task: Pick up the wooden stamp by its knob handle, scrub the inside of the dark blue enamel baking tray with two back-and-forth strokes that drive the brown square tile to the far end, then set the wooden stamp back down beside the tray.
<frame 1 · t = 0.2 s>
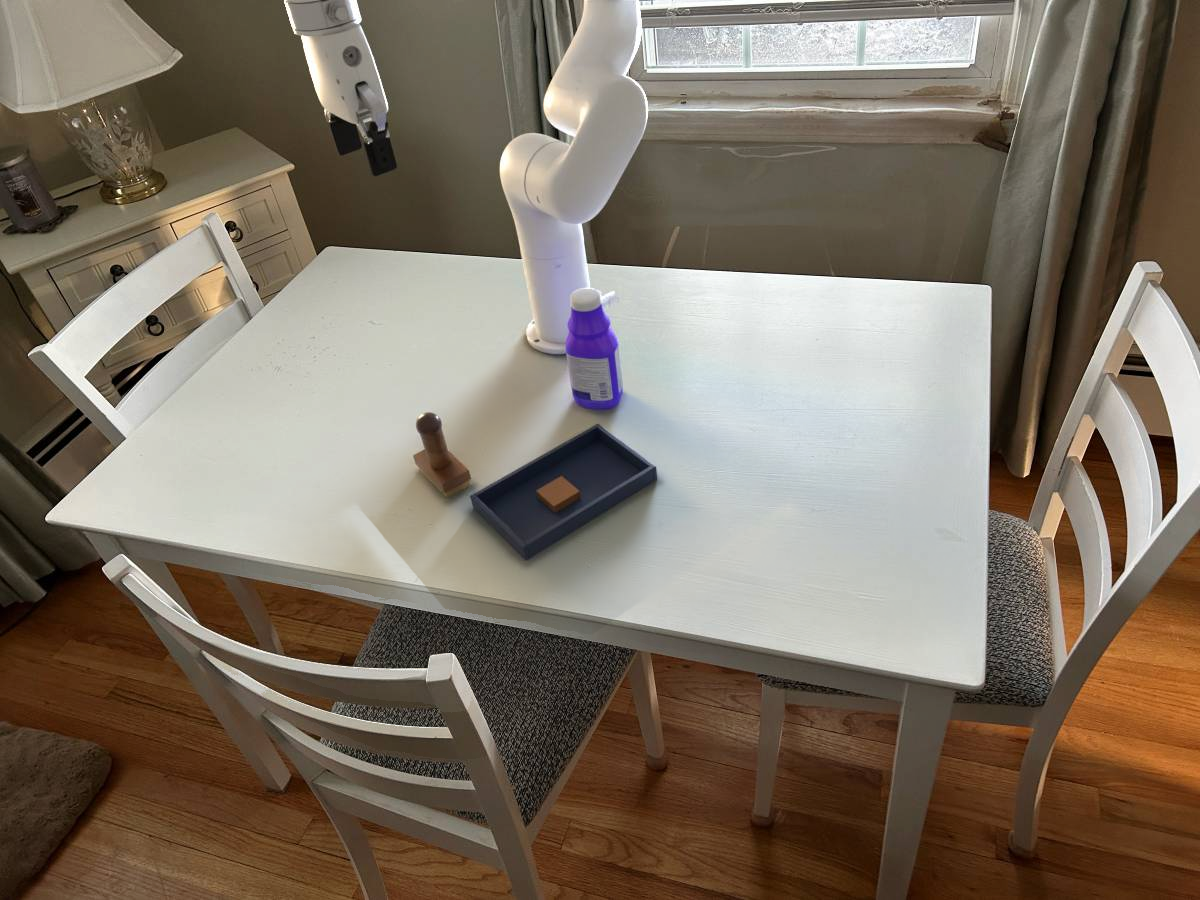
hand: (367, 161, 111), 37 cm above the table, tool pointing down, fingers open, 9 cm apart
tray: (566, 496, 115), on the table
brown square tile: (559, 497, 114), resting on tray
bottle: (599, 401, 129), on the table
wooden stamp: (445, 479, 120), on the table
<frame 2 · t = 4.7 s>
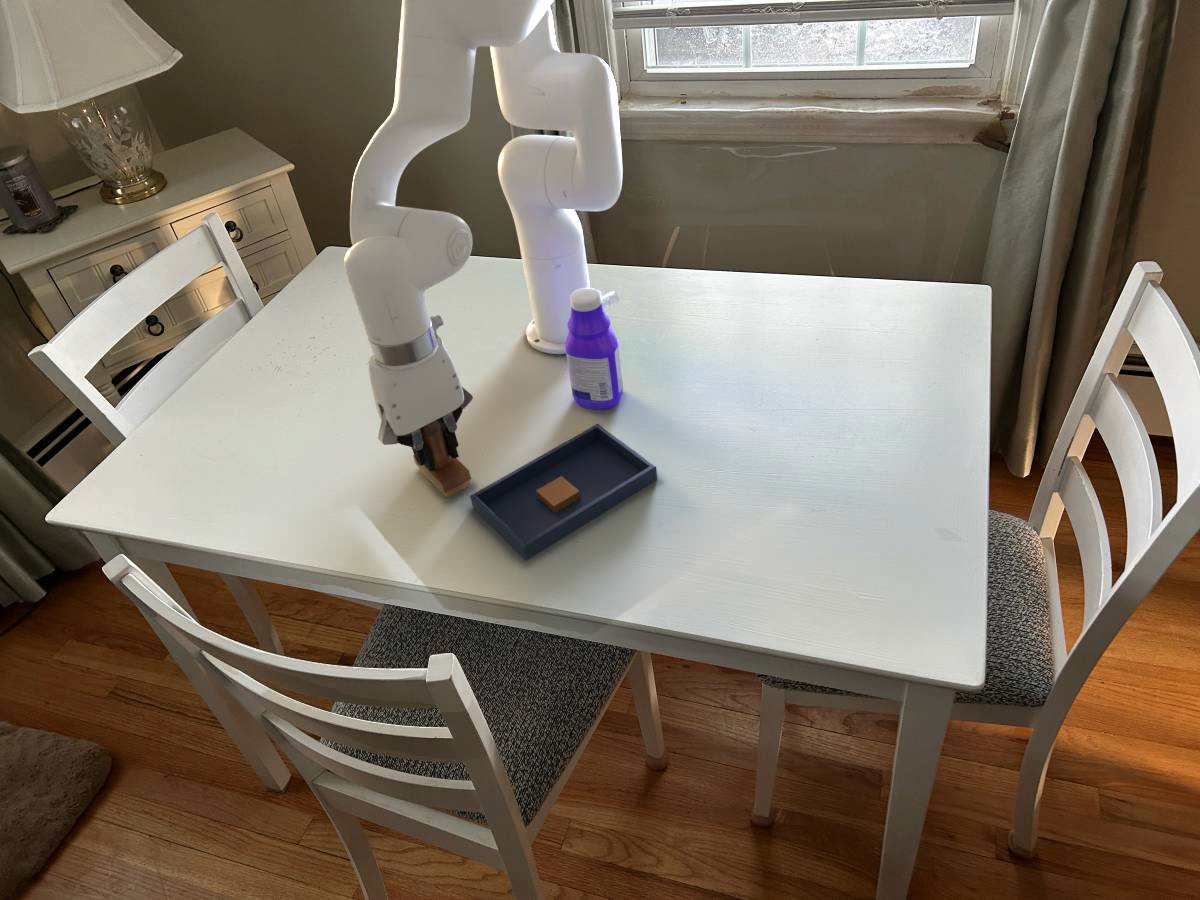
hand: (439, 458, 117), 4 cm above the table, tool pointing down, fingers closed on wooden stamp, 2 cm apart
wooden stamp: (445, 479, 120), on the table, touching gripper
everything else where it was.
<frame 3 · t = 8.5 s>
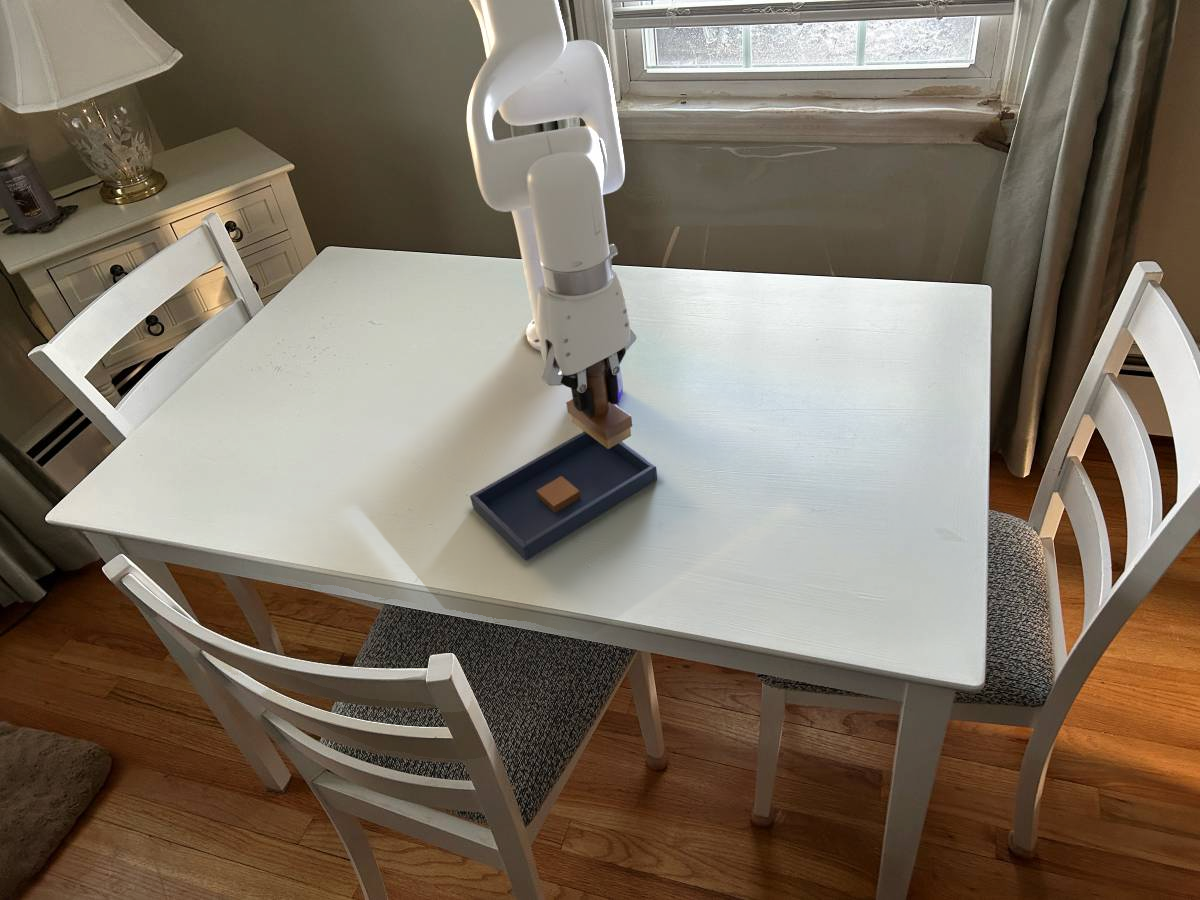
hand: (597, 404, 110), 11 cm above the table, tool pointing down, fingers closed on wooden stamp, 2 cm apart
wooden stamp: (601, 428, 112), point 8 cm above the table, touching gripper
everything else where it was.
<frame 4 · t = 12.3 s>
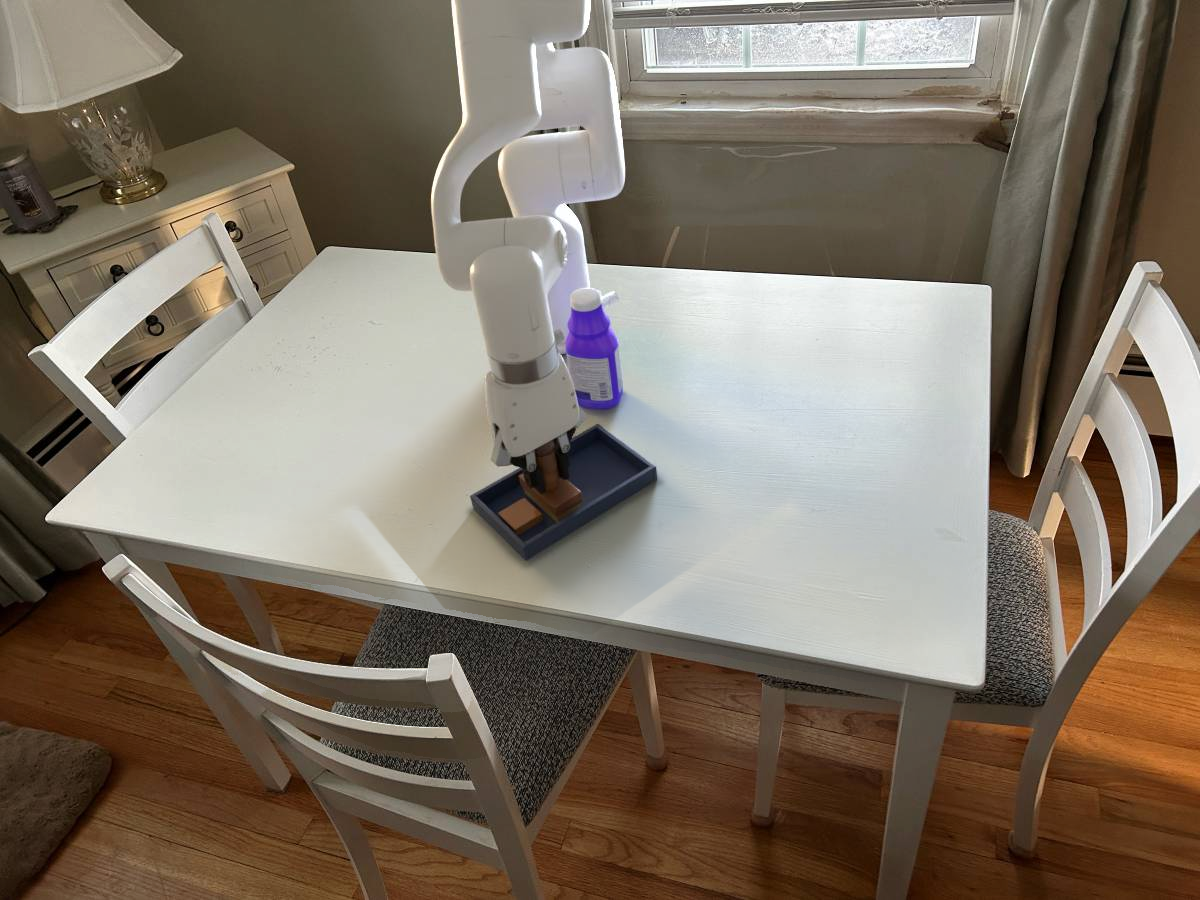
hand: (548, 479, 111), 4 cm above the table, tool pointing down, fingers closed on wooden stamp, 2 cm apart
brown square tile: (521, 520, 112), resting on tray
wooden stamp: (552, 501, 113), point 1 cm above the table, touching gripper
everything else where it was.
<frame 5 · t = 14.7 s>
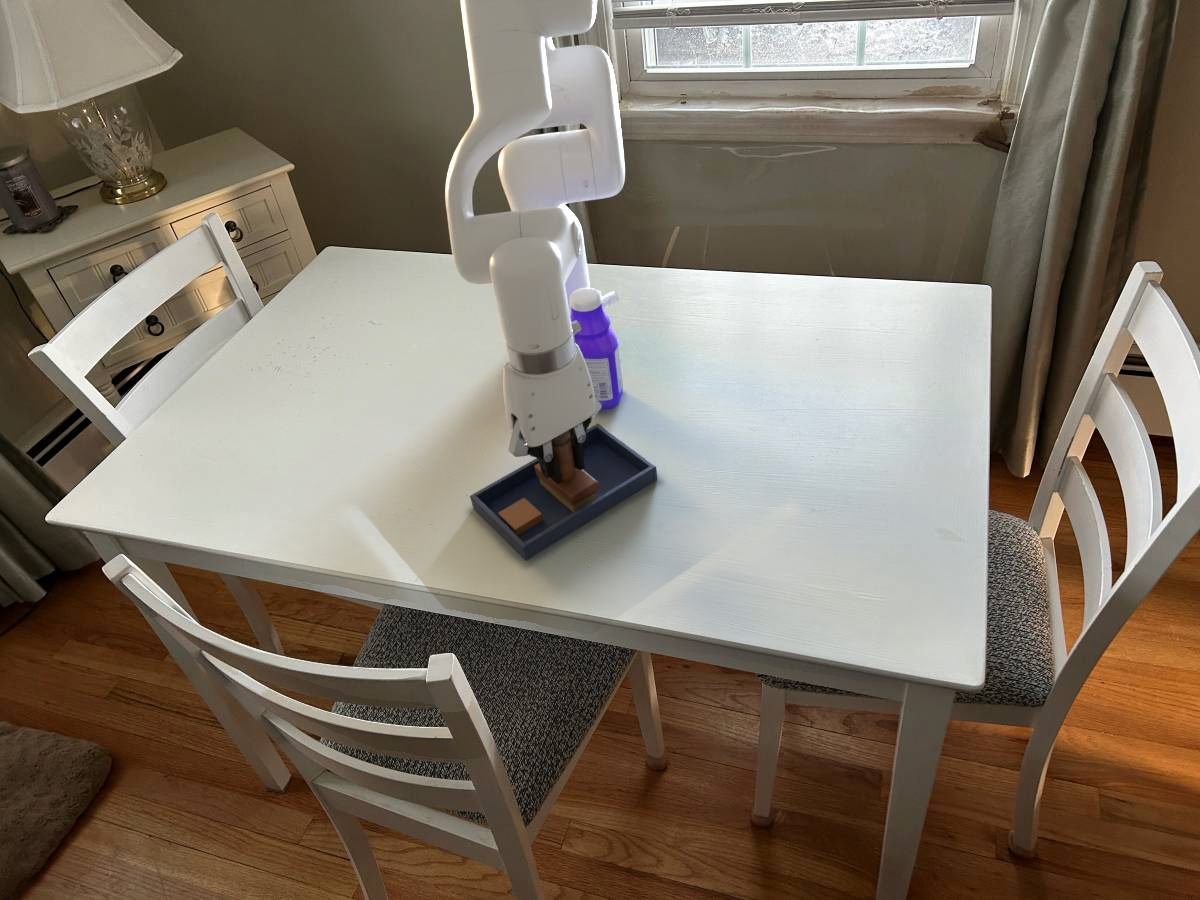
hand: (564, 470, 112), 4 cm above the table, tool pointing down, fingers closed on wooden stamp, 2 cm apart
wooden stamp: (568, 491, 114), point 1 cm above the table, touching gripper
everything else where it was.
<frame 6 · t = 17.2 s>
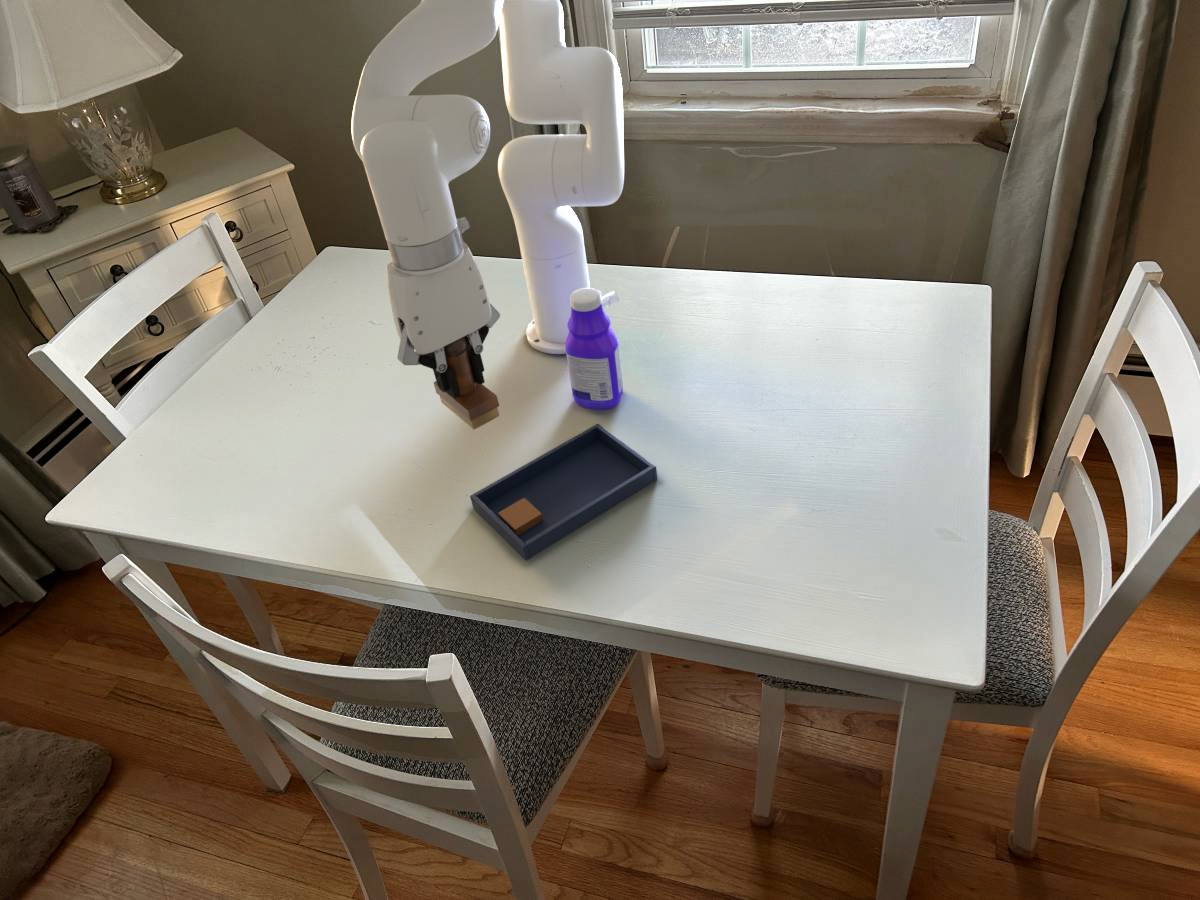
hand: (463, 384, 106), 17 cm above the table, tool pointing down, fingers closed on wooden stamp, 2 cm apart
wooden stamp: (470, 409, 109), point 13 cm above the table, touching gripper
everything else where it was.
when the fingers open (4 cm above the table, at t = 21.2 s): wooden stamp stays where it is, on the table.
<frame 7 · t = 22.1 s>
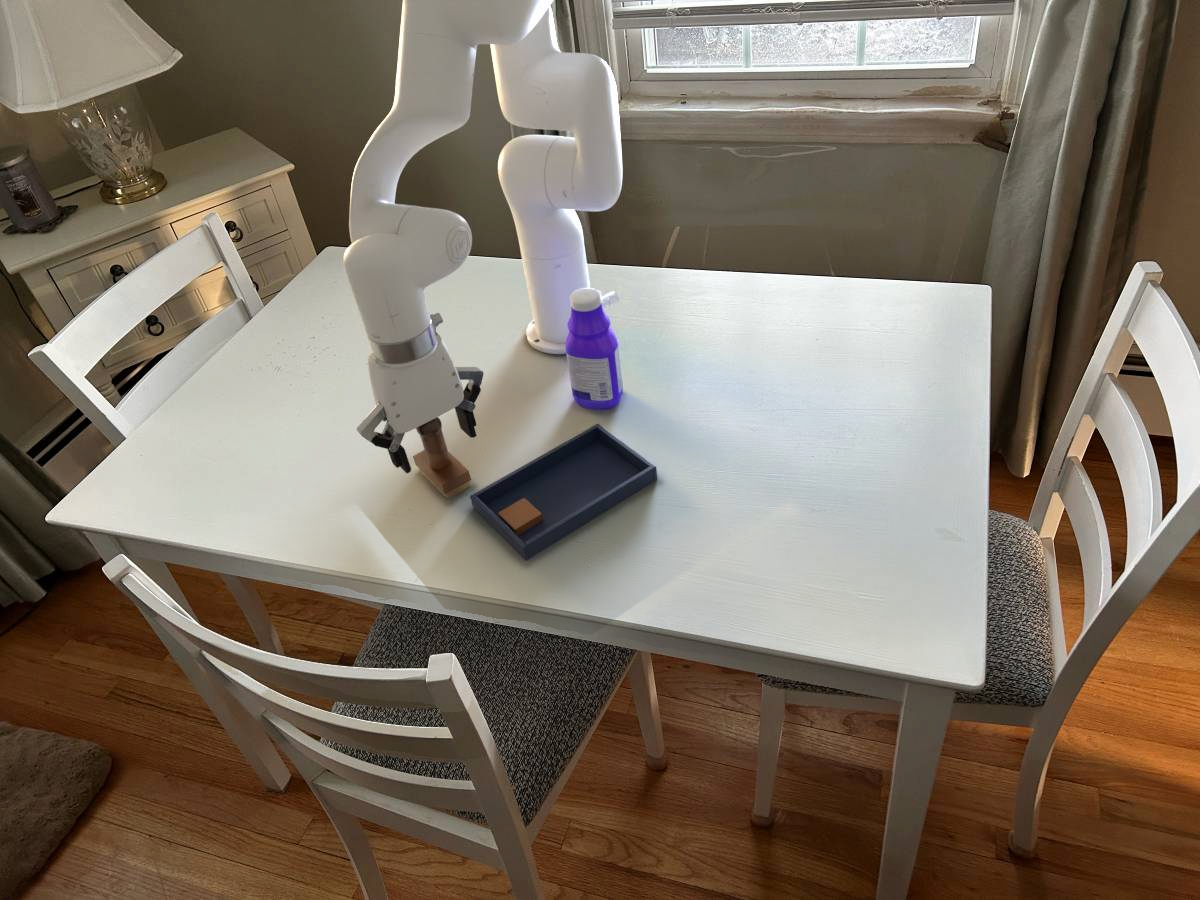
hand: (437, 449, 117), 5 cm above the table, tool pointing down, fingers open, 9 cm apart
wooden stamp: (445, 480, 120), on the table
everything else where it was.
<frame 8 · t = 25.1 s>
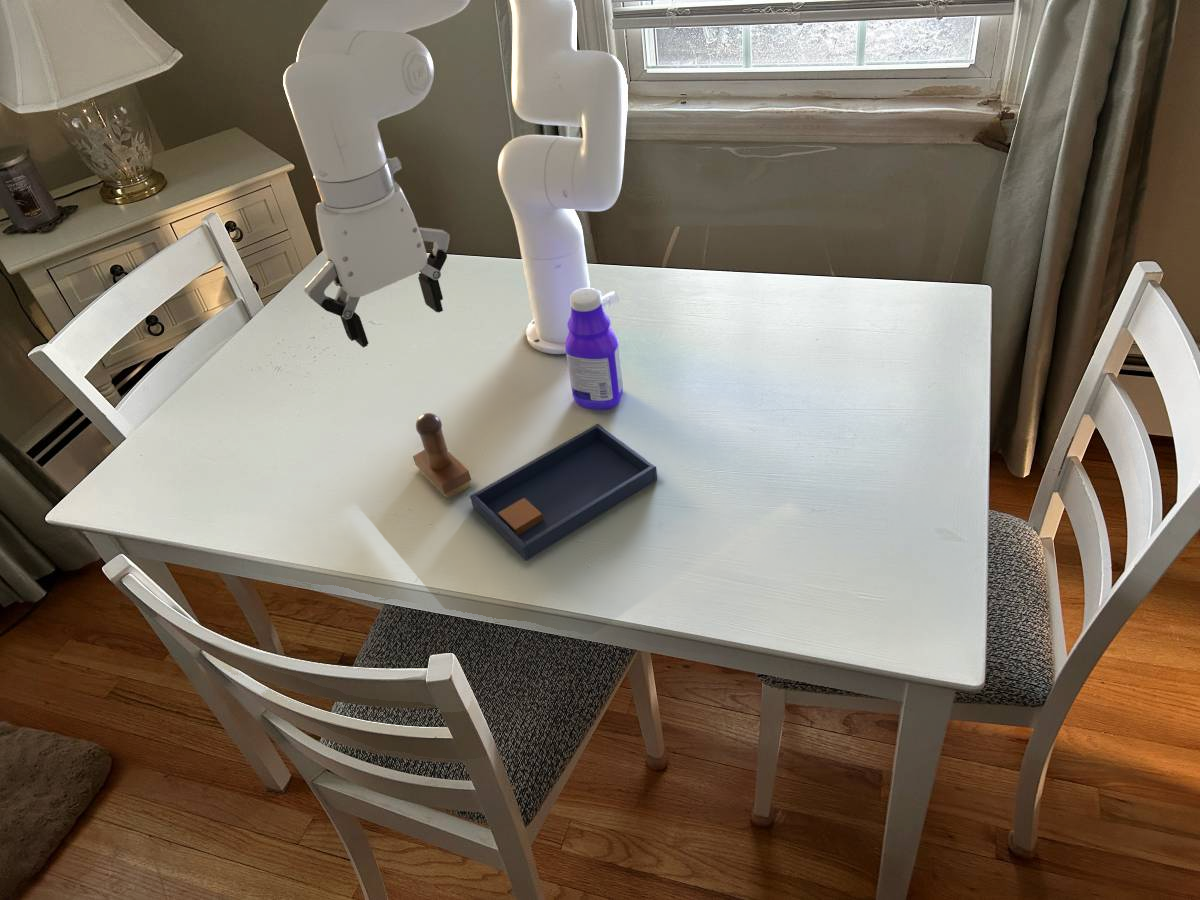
hand: (398, 324, 104), 24 cm above the table, tool pointing down, fingers open, 9 cm apart
nothing on the table moved.
at the end: brown square tile inside the target area in the tray (0.4 cm from its centre), point 0.5 cm above the tray's base; wooden stamp 0.2 cm from the target spot, on the table; wooden stamp tilted 0° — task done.
